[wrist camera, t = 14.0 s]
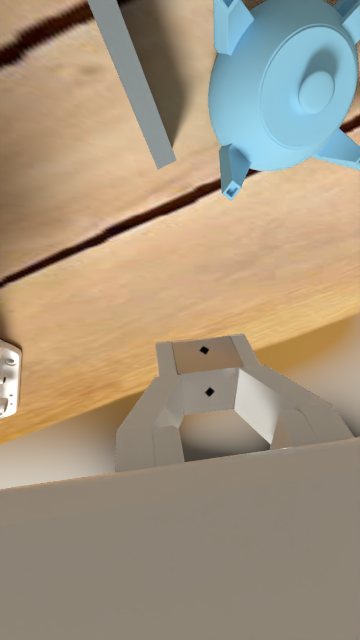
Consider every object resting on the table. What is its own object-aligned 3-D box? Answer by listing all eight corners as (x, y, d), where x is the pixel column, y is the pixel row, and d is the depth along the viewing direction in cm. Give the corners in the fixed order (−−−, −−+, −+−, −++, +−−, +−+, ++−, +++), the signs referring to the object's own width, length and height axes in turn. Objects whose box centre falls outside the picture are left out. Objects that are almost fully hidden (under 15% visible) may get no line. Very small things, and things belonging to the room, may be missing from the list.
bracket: (403, 37, 31) (456, 24, 26) (154, 160, 35) (158, 169, 30) (412, -219, 22) (493, -313, 17) (79, -20, 26) (66, -50, 21)
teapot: (327, 164, 37) (386, 182, 29) (206, 184, 37) (229, 209, 28) (352, -17, 28) (449, -70, 20) (193, 8, 28) (221, -35, 19)
